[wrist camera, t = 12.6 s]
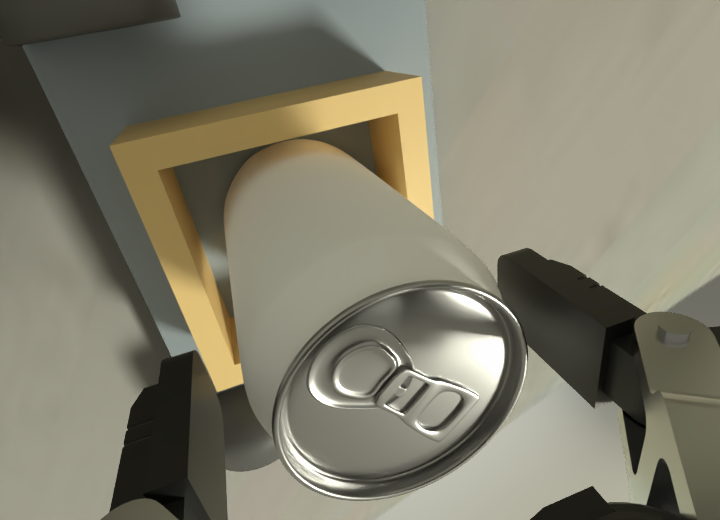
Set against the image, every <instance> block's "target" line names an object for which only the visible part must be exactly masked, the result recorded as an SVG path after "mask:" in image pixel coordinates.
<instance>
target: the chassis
mask: <svg viewBox="0 0 720 520" xmlns="http://www.w3.org/2000/svg"><path fill="white" fill-rule="evenodd" d="M0 36H1V38H2V40H3V42H4V44H5V45H6V46H16V45H22V47H23V49H24V51H25V53H26V55H27V57H28V59H29V61H30V63H31V66H32V68H33V70H34V72H35V74H36V76H37V78H38V80H39V82H40V84H41V86H42V88H43V90H44V93H45V95H46V97H47V99H48V101H49V103H50V105H51V107H52V109H53V111H54V113H55V115H56V117H57V120H58V122H59V124H60V126H61V128H62V130H63V132H64V134H65V136H66V138H67V140H68V142H69V144H70V147H71V149H72V151H73V153H74V155H75V157H76V159H77V161H78V163H79V165H80V167H81V169H82V172H83V174H84V176H85V178H86V180H87V182H88V184H89V186H90V188H91V190H92V192H93V194H94V196H95V199H96V201H97V203H98V205H99V207H100V209H101V211H102V213H103V215H104V217H105V219H106V221H107V223H108V226H109V228H110V230H111V232H112V234H113V236H114V238H115V240H116V242H117V244H118V246H119V248H120V250H121V253H122V255H123V257H124V259H125V261H126V263H127V265H128V267H129V269H130V271H131V273H132V275H133V277H134V280H135V282H136V284H137V286H138V288H139V290H140V292H141V294H142V296H143V298H144V300H145V302H146V304H147V307H148V309H149V311H150V313H151V315H152V317H153V319H154V321H155V323H156V325H157V327H158V329H159V331H160V334H161V336H162V338H163V340H164V342H165V344H166V346H167V348H168V350H169V352H170V354H171V356H172V357H173V356H177V355H180V354H183V353H186V352H190V351H193V350H196V351H197V352H198V353H199V355H200V357H201V360H202V362H203V364H204V367H205V369H206V371H207V373H208V376H209V378H210V380H211V383H212V385H213V387H214V389H215V392H216V394H217V397H218V399H219V402H220V406H221V410H222V415H223V425H224V448H225V469H226V470H230V471H240V472H242V471H250V470H255V469H258V468H261V467H264V466H266V465H269V464H271V463H272V462H274V461H276V460H277V459H279V456H278V454H277V451H276V449H275V445H274V441H273V438H272V437H271V436H270V435H269V433H268V432H267V431H266V430H265V429H264V428H263V426H262V425H261V423H260V422H259V421H258V419H257V418H256V416H255V414H254V412H253V410H252V408H251V406H250V403H249V400H248V397H247V393H246V390H245V386H244V381H243V375H242V369H241V363H240V356H239V349H238V341H237V333H236V325H235V317H234V309H233V301H232V292H231V284H230V276H229V267H228V258H227V249H226V240H225V230H224V205H225V200H226V196H227V193H228V190H229V188H230V186H231V183H232V181H233V179H234V177H235V176H236V174H237V172H238V171H239V169H240V168H241V167H242V166H243V164H244V163H245V162H246V161H247V160H248V159H249V158H250V157H252V156H253V155H254V154H256V153H257V152H259V151H261V150H263V149H265V148H267V147H269V146H271V145H274V144H276V143H279V142H283V141H288V140H295V139H309V140H316V141H321V142H324V143H327V144H330V145H332V146H334V147H337V148H338V149H340V150H342V151H343V152H345V153H346V154H348V155H349V156H351V157H352V158H354V159H355V160H356V161H358V162H359V163H360V164H362V165H363V166H364V167H366V168H367V169H368V170H370V171H371V172H372V173H374V174H375V175H376V176H378V177H379V178H380V179H381V180H383V181H384V182H385V183H387V184H388V185H389V186H391V187H392V188H393V189H395V190H396V191H397V192H398V193H400V194H401V195H402V196H404V197H405V198H406V199H408V200H409V201H410V202H412V203H413V204H414V205H415V206H417V207H418V208H419V209H421V210H422V211H423V212H424V213H426V214H427V215H428V216H430V217H431V218H432V219H433V220H435V221H436V222H437V223H439V224H440V225H441V226H442V227H443V223H442V211H441V198H440V185H439V172H438V160H437V147H436V134H435V121H434V109H433V96H432V83H431V70H430V58H429V45H428V32H427V19H426V7H425V0H0Z"/></svg>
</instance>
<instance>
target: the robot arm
mask: <svg viewBox="0 0 720 520" xmlns="http://www.w3.org/2000/svg"><path fill="white" fill-rule="evenodd" d="M497 266H498V288H499V291H500V293H501V296H502V300H503V301H504V302H505V303H506V304H507V305H508V306H509V307H510V308H511V310H512V311H513V312H514V313H515V315H516V316H517V318H518V320H519V321H520V323H521V325H522V328H523V330H524V333H525V337H526V341H527V345H528V346H529V347H530V348H532V349H533V350H534V351H535V352H536V353H537V354H538V355H539V356H540V357H541V358H542V359H543V360H544V361H545V362H546V363H547V364H548V365H549V366H550V367H551V368H552V369H554V370H555V371H556V372H557V373H558V374H559V375H560V376H561V377H562V378H563V379H564V380H565V381H566V382H567V383H568V384H569V385H570V386H571V387H573V389H575V390H576V391H577V392H578V393H579V394H580V395H581V396H582V397H583V398H584V399H585V400H586V401H587V402H588V403H589V404H590V405H591V406H592V407H593V408H598V407H600V406H602V405H605V404H608V403H610V402H612V401H614V402H615V403H616V404H617V405H618V406H619V413H618V420H619V425H620V426H619V427H620V433H621V439H622V445H623V452H624V458H625V464H626V470H627V477H628V482H629V495H630V496H629V503H626V502H609V503H607V502H606V501H605V500H604V499H603V498H602V497H601V495H600V494H599V493H598V492H597V491H596V490H595V489H594V487H593V486H591V487H589V488H587V489H585V490H582V491H580V492H578V493H575V494H573V495H571V496H569V497H566V498H564V499H562V500H560V501H557V502H555V503H553V504H550V505H548V506H546V507H544V508H543V509H542V510H540V511H539V512H538V513H537V514H536V515H535V516H534V517H533V518H531V519H530V520H720V326H718V327H707V326H705V325H704V324H703V323H701V322H699V321H698V320H695V319H693V318H690V317H688V316H685V315H682V314H677V313H672V312H652V313H645V312H644V311H642V310H641V309H639V308H637V307H636V306H634V305H633V304H631V303H629V302H628V301H626V300H625V299H623V298H621V297H620V296H618V295H617V294H615V293H613V292H612V291H610V290H609V289H607V288H605V287H604V286H600V285H599V283H597V282H596V281H594V280H593V279H591V278H587V277H586V275H585V274H583V273H581V272H580V271H578V270H577V269H575V268H573V267H572V266H570V265H566V264H563V263H560V262H557V261H554V260H547V259H545V258H544V257H542V256H541V255H539V254H538V253H536V252H535V251H533V250H531V249H529V248H525V249H521V250H518V251H515V252H512V253H509V254H505V255H502V256H500V257H499V259H498V265H497ZM127 429H128V431H126V435H125V439H124V447H123V449H122V454H121V459H120V464H119V469H118V474H117V478H116V483H115V488H114V493H113V498H112V503H111V508H110V512H109V513H108V514H107V515H106V516H104V517H103V518H102V519H101V520H228V518H227V495H226V471H225V448H224V425H223V415H222V410H221V406H220V402H219V399H218V397H217V394H216V392H215V389H214V387H213V385H212V383H211V380H210V378H209V376H208V373H207V371H206V369H205V367H204V364H203V362H202V360H201V357H200V355H199V353H198V352H197V351H196V350H193V351H190V352H186V353H183V354H180V355H177V356H173V357H170V358H167V359H164V360H162V363H161V369H160V376H159V383H158V384H157V385H153V386H150V387H147V388H144V389H143V391H142V392H141V394H140V395H139V397H138V398H137V400H136V401H135V403H134V404H133V406H132V407H131V410H130V415H129V420H128V425H127Z"/></svg>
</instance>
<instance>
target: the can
mask: <svg viewBox="0 0 720 520" xmlns="http://www.w3.org/2000/svg"><path fill="white" fill-rule="evenodd" d="M224 230H225V240H226V249H227V258H228V267H229V276H230V284H231V292H232V301H233V309H234V317H235V325H236V333H237V341H238V349H239V356H240V363H241V369H242V375H243V381H244V386H245V390H246V393H247V397H248V400H249V403H250V406H251V408H252V410H253V412H254V414H255V416H256V418H257V419H258V421H259V422H260V423H261V425H262V426H263V428H264V429H265V430H266V431H267V432H268V433H269V435H270V436H271V437H272V438H273V441H274V445H275V449H276V451H277V454H278V456H279V458H280V460H281V462H282V464H283V465H284V467H285V468H286V470H287V471H288V472H289V473H290V474H291V475H292V476H293V477H294V478H295V479H296V480H297V481H298V482H299V483H301V484H302V485H304V486H305V487H307V488H308V489H310V490H312V491H314V492H316V493H319V494H321V495H324V496H328V497H331V498H336V499H341V500H350V501H370V500H379V499H386V498H391V497H395V496H399V495H403V494H406V493H409V492H412V491H415V490H418V489H420V488H423V487H425V486H427V485H429V484H432V483H434V482H436V481H437V480H439V479H441V478H443V477H445V476H446V475H448V474H450V473H451V472H453V471H455V470H456V469H458V468H459V467H460V466H462V465H463V464H465V463H466V462H467V461H469V460H470V459H471V458H472V457H473V456H474V455H476V454H477V453H478V452H479V451H480V450H481V449H482V448H483V447H484V446H485V445H486V444H487V443H488V442H489V441H490V440H491V439H492V438H493V437H494V436H495V435H496V433H497V432H498V431H499V430H500V428H501V427H502V426H503V424H504V423H505V422H506V420H507V419H508V417H509V415H510V414H511V412H512V410H513V409H514V407H515V405H516V403H517V401H518V398H519V396H520V394H521V391H522V388H523V385H524V382H525V378H526V373H527V366H528V347H527V341H526V337H525V333H524V330H523V328H522V325H521V323H520V321H519V320H518V318H517V316H516V315H515V313H514V312H513V311H512V310H511V308H510V307H509V306H508V305H507V304H506V303H505V302H504V301H503V300H502V296H501V293H500V291H499V288H498V286H497V284H496V281H495V279H494V277H493V276H492V274H491V272H490V271H489V269H488V268H487V267H486V265H485V264H484V263H483V262H482V261H481V260H480V259H479V258H478V256H477V255H476V254H475V253H474V252H473V251H472V250H470V249H469V248H468V247H467V246H466V245H465V244H463V243H462V242H461V241H460V240H459V239H457V238H456V237H455V236H454V235H453V234H451V233H450V232H449V231H447V230H446V229H445V228H444V227H442V226H441V225H440V224H439V223H437V222H436V221H435V220H433V219H432V218H431V217H430V216H428V215H427V214H426V213H424V212H423V211H422V210H421V209H419V208H418V207H417V206H415V205H414V204H413V203H412V202H410V201H409V200H408V199H406V198H405V197H404V196H402V195H401V194H400V193H398V192H397V191H396V190H395V189H393V188H392V187H391V186H389V185H388V184H387V183H385V182H384V181H383V180H381V179H380V178H379V177H378V176H376V175H375V174H374V173H372V172H371V171H370V170H368V169H367V168H366V167H364V166H363V165H362V164H360V163H359V162H358V161H356V160H355V159H354V158H352V157H351V156H349V155H348V154H346V153H345V152H343V151H342V150H340V149H338V148H337V147H334V146H332V145H330V144H327V143H324V142H321V141H316V140H309V139H295V140H288V141H283V142H279V143H276V144H274V145H271V146H269V147H267V148H265V149H263V150H261V151H259V152H257V153H256V154H254V155H253V156H252V157H250V158H249V159H248V160H247V161H246V162H245V163H244V164H243V166H242V167H241V168H240V169H239V171H238V172H237V174H236V176H235V177H234V179H233V181H232V183H231V186H230V188H229V190H228V193H227V196H226V200H225V205H224Z"/></svg>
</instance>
